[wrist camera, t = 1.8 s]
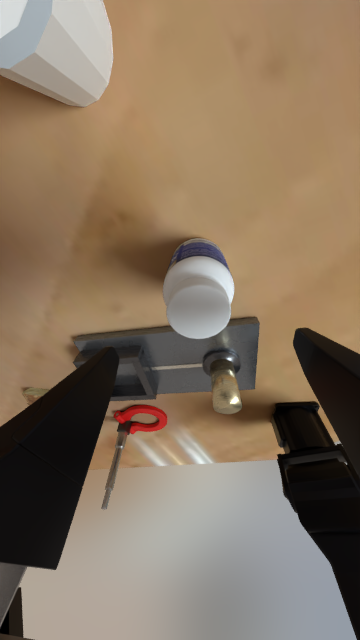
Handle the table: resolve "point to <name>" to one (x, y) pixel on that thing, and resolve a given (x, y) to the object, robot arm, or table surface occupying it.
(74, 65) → the white cup
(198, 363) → the metal plate with knob
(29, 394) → the shard
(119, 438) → the tow hook
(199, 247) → the pill bottle
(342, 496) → the robot arm
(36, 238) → the table surface
